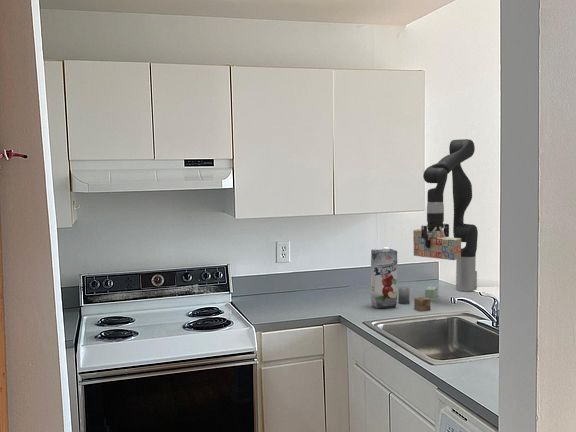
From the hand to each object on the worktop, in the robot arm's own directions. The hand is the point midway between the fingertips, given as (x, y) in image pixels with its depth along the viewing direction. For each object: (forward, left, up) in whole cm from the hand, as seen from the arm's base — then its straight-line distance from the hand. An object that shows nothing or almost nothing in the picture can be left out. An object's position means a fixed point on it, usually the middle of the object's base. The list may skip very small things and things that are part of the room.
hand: (435, 247), depth 275 cm
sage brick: (-6, -10, -26) cm, 28 cm away
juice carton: (+26, -2, -26) cm, 37 cm away
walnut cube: (+14, +10, -25) cm, 31 cm away
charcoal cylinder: (+14, -4, -25) cm, 29 cm away
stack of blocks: (0, +1, -5) cm, 5 cm away
